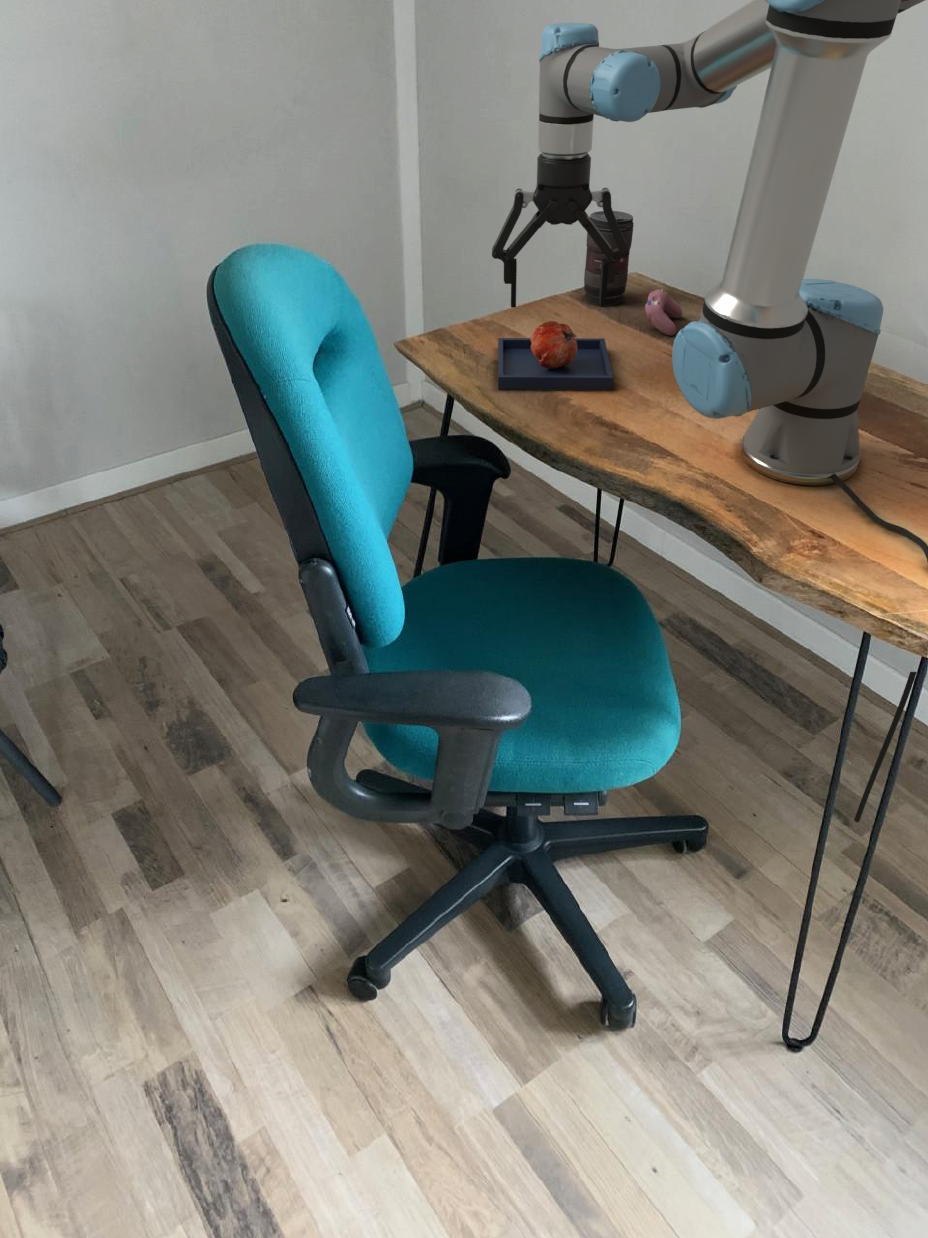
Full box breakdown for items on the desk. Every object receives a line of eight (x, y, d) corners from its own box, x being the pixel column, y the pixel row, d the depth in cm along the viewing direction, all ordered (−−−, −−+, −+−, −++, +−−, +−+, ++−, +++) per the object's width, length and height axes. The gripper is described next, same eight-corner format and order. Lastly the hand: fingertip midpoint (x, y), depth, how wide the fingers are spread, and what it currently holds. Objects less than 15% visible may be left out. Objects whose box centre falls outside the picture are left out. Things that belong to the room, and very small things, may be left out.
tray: (612, 390, 146) (613, 377, 145) (498, 389, 147) (498, 376, 146) (603, 350, 159) (604, 338, 157) (498, 349, 159) (498, 337, 158)
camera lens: (634, 301, 177) (643, 217, 167) (600, 310, 173) (607, 224, 164) (607, 288, 182) (614, 206, 173) (573, 297, 179) (579, 213, 169)
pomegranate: (522, 380, 153) (555, 360, 144) (511, 335, 153) (544, 313, 144) (559, 375, 157) (594, 355, 148) (549, 331, 156) (583, 309, 148)
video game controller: (660, 323, 172) (647, 287, 169) (684, 314, 170) (671, 277, 167) (652, 343, 165) (637, 306, 162) (677, 334, 162) (663, 296, 159)
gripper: (650, 146, 136) (636, 295, 149) (476, 148, 136) (476, 296, 149) (657, 158, 130) (642, 312, 143) (474, 159, 131) (476, 312, 143)
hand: (557, 304), depth 146 cm, fingers open, 13 cm apart
